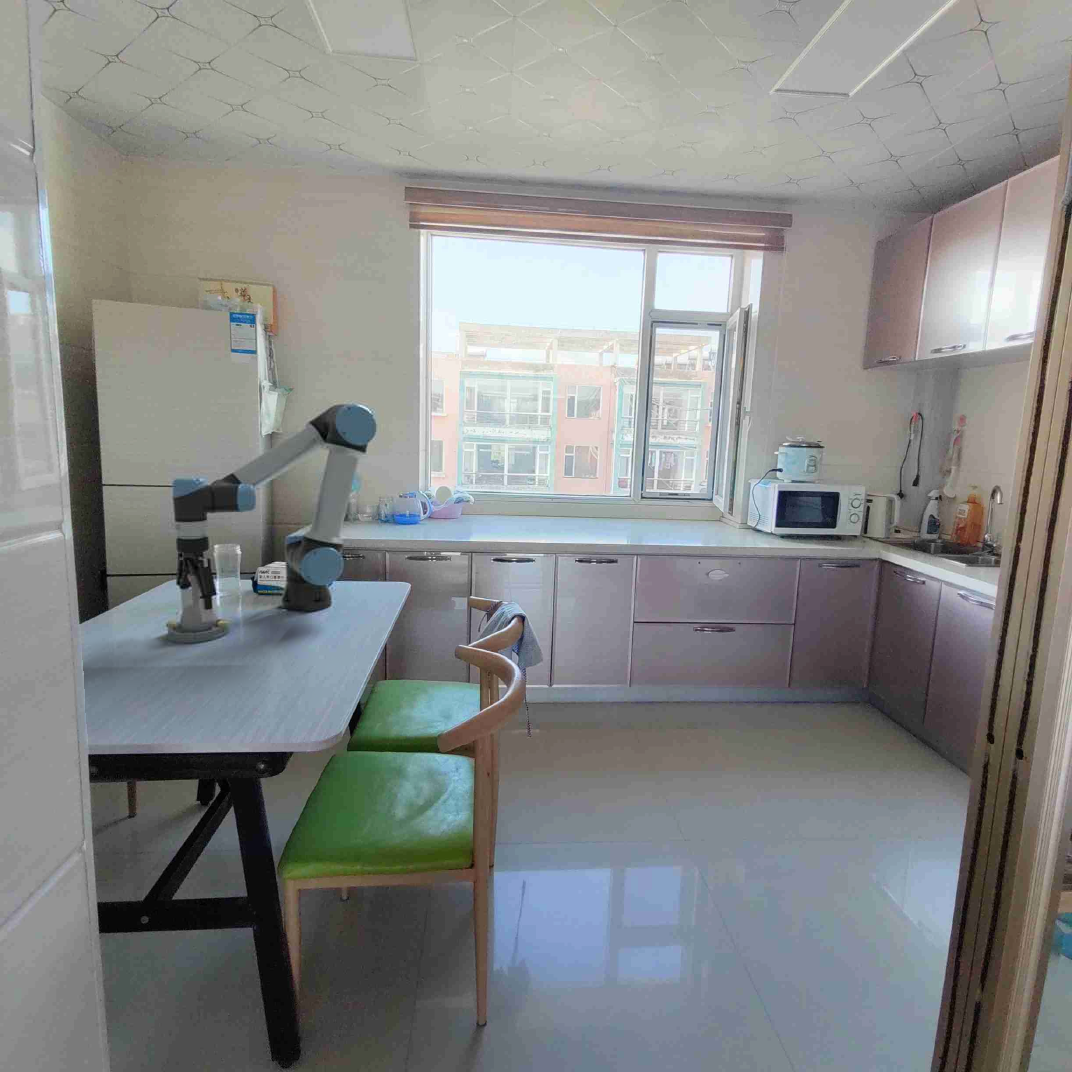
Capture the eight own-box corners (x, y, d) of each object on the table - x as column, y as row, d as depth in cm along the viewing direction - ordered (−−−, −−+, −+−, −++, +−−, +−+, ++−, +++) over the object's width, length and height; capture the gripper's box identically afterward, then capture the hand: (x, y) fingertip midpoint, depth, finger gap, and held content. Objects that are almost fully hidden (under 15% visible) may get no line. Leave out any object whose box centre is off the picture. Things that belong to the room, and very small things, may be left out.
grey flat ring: (238, 624, 175) (237, 613, 175) (218, 642, 161) (217, 630, 160) (181, 625, 173) (180, 614, 173) (155, 643, 159) (154, 631, 158)
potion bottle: (194, 625, 171) (189, 562, 168) (224, 627, 170) (220, 563, 167) (172, 635, 163) (167, 569, 160) (204, 637, 162) (199, 571, 159)
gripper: (158, 532, 166) (164, 610, 170) (197, 544, 152) (203, 628, 156) (187, 529, 172) (192, 604, 176) (227, 540, 158) (232, 622, 162)
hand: (197, 616), depth 166 cm, fingers open, 11 cm apart
